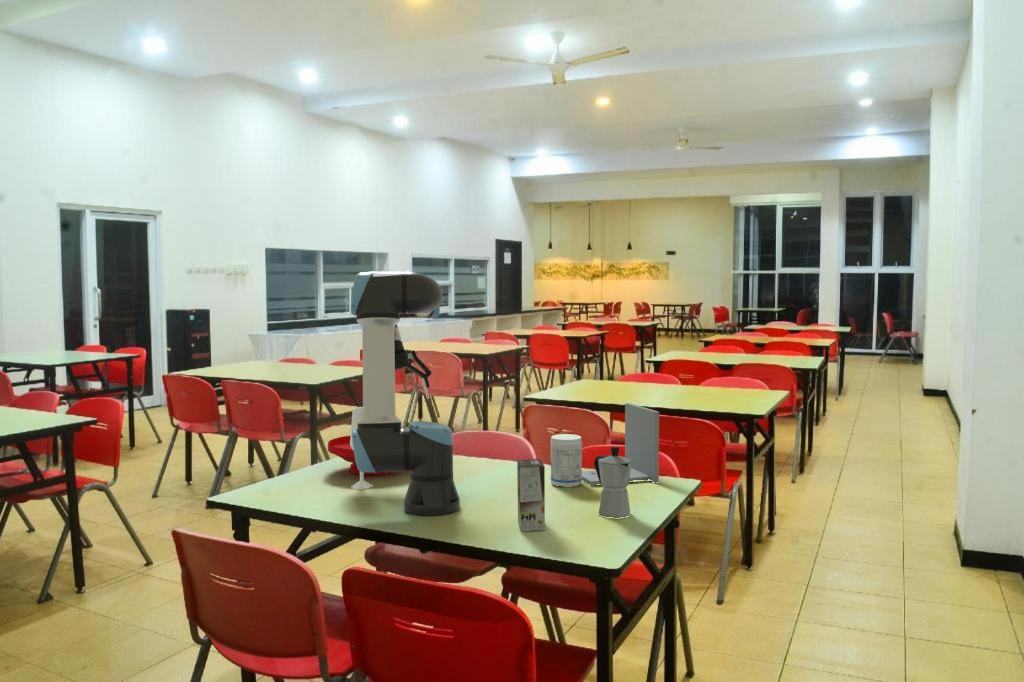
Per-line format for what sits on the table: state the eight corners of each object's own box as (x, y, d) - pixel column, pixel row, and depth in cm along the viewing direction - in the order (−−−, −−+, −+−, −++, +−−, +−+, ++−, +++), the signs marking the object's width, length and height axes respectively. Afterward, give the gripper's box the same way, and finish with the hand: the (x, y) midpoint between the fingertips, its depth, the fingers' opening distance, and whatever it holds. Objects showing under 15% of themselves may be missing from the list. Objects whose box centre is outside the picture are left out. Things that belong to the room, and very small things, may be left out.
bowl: (332, 484, 239) (332, 452, 238) (324, 464, 268) (323, 435, 267) (430, 476, 249) (429, 445, 248) (411, 458, 277) (411, 430, 277)
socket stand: (658, 482, 238) (659, 411, 237) (595, 488, 232) (595, 415, 230) (629, 469, 257) (629, 403, 256) (569, 474, 251) (569, 406, 249)
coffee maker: (643, 518, 201) (643, 449, 200) (616, 523, 197) (616, 452, 196) (608, 504, 214) (608, 439, 213) (582, 509, 210) (582, 443, 208)
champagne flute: (377, 486, 236) (376, 408, 234) (357, 490, 231) (356, 410, 230) (366, 482, 241) (365, 405, 239) (346, 486, 237) (345, 407, 235)
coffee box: (545, 531, 190) (545, 466, 189) (519, 531, 190) (519, 466, 189) (541, 520, 199) (541, 458, 199) (516, 521, 199) (516, 459, 198)
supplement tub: (551, 480, 243) (551, 433, 242) (581, 480, 242) (581, 433, 241) (550, 487, 233) (549, 439, 232) (581, 488, 232) (581, 439, 231)
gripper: (426, 337, 264) (444, 396, 259) (354, 356, 259) (370, 416, 253) (427, 330, 257) (445, 390, 252) (352, 349, 252) (369, 411, 246)
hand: (408, 403), depth 253 cm, fingers open, 13 cm apart
